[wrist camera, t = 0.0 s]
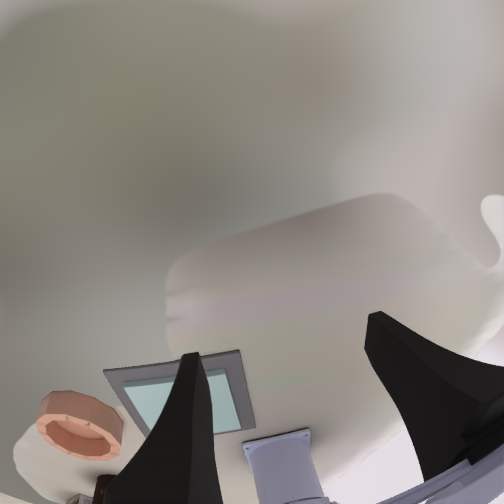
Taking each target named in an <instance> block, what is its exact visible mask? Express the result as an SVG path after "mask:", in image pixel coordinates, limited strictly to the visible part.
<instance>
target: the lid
mask: <svg viewBox="0 0 504 504" xmlns="http://www.w3.org/2000/svg"><path fill="white" fill-rule="evenodd" d="M205 374H206V377H207V380H208V382H209V387H210V394H211V400H212V410H213V433H218V432H225V431H231V430H237V429H241V426H240V421H239V418H238V415H237V411H236V408H235V404H234V401H233V397H232V394H231V390H230V386H229V383H228V379H227V376H226V372H225V368H222V369H216V370H210V371H205ZM175 378H176V376H171V377H163V378H155V379H147V380H138V381H128V382H124V389H125V391H126V393H127V394H128V396H129V398H130V399H131V401H132V402H133V404H134V406H135V407H136V409H137V410H138V412H139V414H140V415H141V417H142V418H143V420H144V421H145V423H146V424H147V426H148V427H149V429H150V430H152V428H153V427H154V425H155V423H156V421H157V420H158V418H159V416H160V414H161V412H162V409H163V407H164V405H165V403H166V401H167V398H168V396H169V394H170V391H171V388H172V386H173V383H174V381H175Z"/></svg>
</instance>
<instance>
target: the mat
mask: <svg viewBox="0 0 504 504" xmlns="http://www.w3.org/2000/svg"><path fill="white" fill-rule="evenodd" d="M200 358H201V361H202V364H203V367H204V370H205V371H210V370H216V369H222V368H225V372H226V376H227V379H228V383H229V386H230V390H231V394H232V397H233V401H234V404H235V408H236V411H237V415H238V418H239V421H240V426H241V429H237V430H231V431H225V432H218V433H213V435H217V434H224V433H230V432H236V431H242V430H247V429H252V428H256V426H255V421H254V417H253V412H252V408H251V403H250V399H249V394H248V390H247V385H246V381H245V376H244V371H243V367H242V362H241V357H240V353H239V350H236V351H231V352H226V353H220V354H214V355H209V356H203V357H200ZM180 361H181V360H177V361H171V362H164V363H156V364H149V365H141V366H132V367H125V368H114V369H105V370H103V373H104V375H105V377H106V378H107V380H108V382H109V383H110V385H111V386H112V388H113V390H114V391H115V393H116V394H117V396H118V398H119V399H120V401H121V402H122V404H123V405H124V407H125V408H126V410H127V412H128V413H129V414H130V416H131V417H132V419H133V420H134V422H135V423H136V425H137V426H138V428H139V429H140V430H141V432H142V433H143V435H144V436H145V437H146V438H147V437H148V435H149V434H150V432H151V430H150V429H149V427H148V426H147V424H146V423H145V421H144V420H143V418H142V417H141V415H140V414H139V412H138V410H137V409H136V407H135V406H134V404H133V402H132V401H131V399H130V398H129V396H128V394H127V393H126V391H125V389H124V382H128V381H138V380H147V379H155V378H163V377H171V376H176V375H177V372H178V368H179V365H180Z"/></svg>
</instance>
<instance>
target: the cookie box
mask: <svg viewBox="0 0 504 504" xmlns="http://www.w3.org/2000/svg"><path fill="white" fill-rule="evenodd" d="M92 501H93V498H90V497H87V496H85V495H82V494H78V495H76V496H75V497H73V498H72V499H71V500H69V501H68V502H67V503H66V504H92Z"/></svg>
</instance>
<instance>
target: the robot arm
mask: <svg viewBox="0 0 504 504" xmlns="http://www.w3.org/2000/svg"><path fill="white" fill-rule="evenodd" d="M364 349H365V351H366V354H367V356H368V358H369V361H370V363H371V365H372V367H373V369H374V370H375V372H376V374H377V375H378V377H379V379H380V380H381V382H382V383H383V385H384V387H385V388H386V390H387V391H388V393H389V395H390V396H391V398H392V399H393V401H394V403H395V404H396V406H397V408H398V410H399V412H400V414H401V416H402V419H403V421H404V423H405V425H406V428H407V430H408V433H409V435H410V437H411V440H412V443H413V446H414V448H415V451H416V454H417V457H418V460H419V464H420V467H421V471H422V474H423V478H424V483H422V484H420V485H418V486H416V487H414V488H412V489H409V490H408V491H406V492H403V493H401V494H399V495H396V496H394V497H392V498H389V499H387V500H385V501H382V502H380V503H377V504H418V503H420V502H422V501H424V500H426V499H428V498H430V497H431V498H430V499H428V500H427V501H426V503H425V504H488V503H489V502H491V501H492V500H494V499H495V498H496V497H498V496H499V495H500V494H501V493H503V492H504V367H502V366H496V365H492V364H487V363H483V362H480V361H476V360H473V359H470V358H467V357H464V356H461V355H459V354H456V353H454V352H452V351H449V350H447V349H445V348H443V347H441V346H439V345H437V344H435V343H433V342H431V341H429V340H428V339H426V338H424V337H422V336H421V335H419V334H417V333H416V332H414V331H412V330H411V329H409V328H407V327H406V326H404V325H403V324H401V323H400V322H398V321H396V320H395V319H393V318H392V317H390V316H389V315H387V314H385V313H384V312H382V311H378V312H375V313H371V314H369V316H368V324H367V332H366V339H365V346H364ZM310 434H311V432H310V429H304V430H300V431H296V432H292V433H288V434H284V435H279V436H275V437H270V438H266V439H261V440H256V441H250V442H245V443H243V444H242V447H243V450H244V453H245V456H246V459H247V462H248V465H249V468H250V470H251V473H252V474H253V476H254V481H255V486H256V490H257V495H258V499H259V504H339V503H337V502H335V501H334V502H330V501H329V498H328V497H324V493H323V491H322V488H321V485H320V482H319V479H318V476H317V473H316V470H315V467H314V464H313V461H312V458H311V456H310ZM434 495H435V496H434ZM432 496H433V497H432ZM103 504H223V500H222V495H221V490H220V485H219V480H218V474H217V468H216V462H215V454H214V435H213V410H212V400H211V394H210V387H209V382H208V380H207V377H206V374H205V370H204V367H203V364H202V361H201V358H200V355H199V352H194V353H188V354H183V356H182V357H181V361H180V365H179V368H178V372H177V375H176V378H175V381H174V383H173V386H172V388H171V391H170V394H169V396H168V398H167V401H166V403H165V405H164V407H163V409H162V412H161V414H160V416H159V418H158V420H157V421H156V423H155V425H154V427H153V428H152V430H151V432H150V434H149V435H148V437H147V438H146V440H145V441H144V443H143V444H142V446H141V447H140V449H139V450H138V451H137V453H136V454H135V455H134V456H133V458H132V459H131V460H130V461H129V463H128V464H127V465H126V466H125V468H124V469H123V470H122V471H121V472H120V473H119V474H118V475H117V476H116V477H115V478H114V479H113V480H112V481H111V482H110V483H109V484H108V485H107V486H106V489H105V494H104V498H103Z"/></svg>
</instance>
